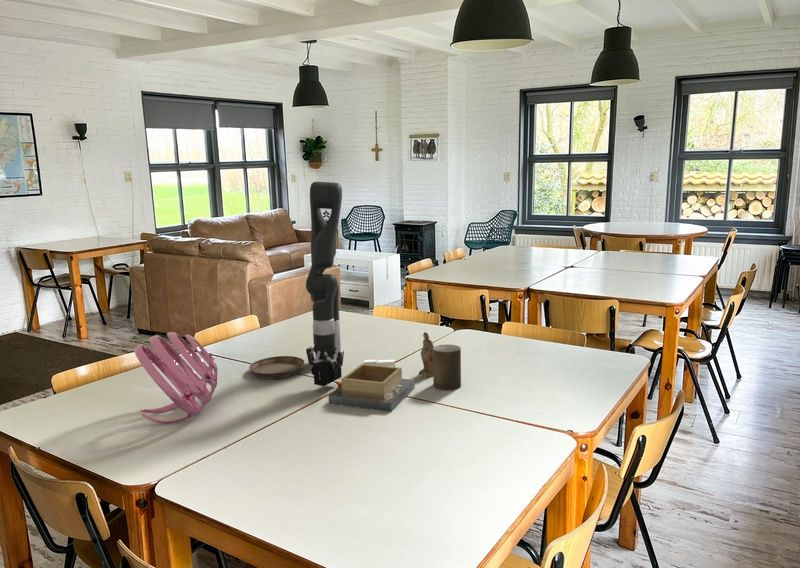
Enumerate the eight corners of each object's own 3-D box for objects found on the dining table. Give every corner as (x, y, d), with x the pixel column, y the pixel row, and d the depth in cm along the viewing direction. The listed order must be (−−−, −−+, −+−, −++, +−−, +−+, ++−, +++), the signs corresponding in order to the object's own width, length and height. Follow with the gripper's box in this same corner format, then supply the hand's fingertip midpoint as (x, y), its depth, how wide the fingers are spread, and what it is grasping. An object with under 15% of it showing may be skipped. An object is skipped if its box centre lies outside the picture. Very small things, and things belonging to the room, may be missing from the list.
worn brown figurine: (427, 384, 230) (419, 339, 224) (417, 380, 234) (409, 336, 228) (449, 370, 237) (442, 326, 231) (439, 366, 241) (432, 323, 235)
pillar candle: (459, 391, 215) (459, 348, 212) (431, 389, 217) (430, 347, 214) (462, 381, 225) (462, 340, 222) (435, 380, 226) (435, 339, 224)
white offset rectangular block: (403, 372, 237) (403, 358, 235) (386, 382, 227) (386, 367, 226) (370, 366, 245) (370, 352, 243) (353, 375, 235) (352, 360, 234)
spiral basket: (94, 376, 179) (172, 314, 186) (112, 369, 206) (180, 315, 213) (160, 449, 183) (235, 385, 189) (169, 433, 210) (235, 378, 216)
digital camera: (329, 374, 226) (328, 355, 225) (341, 377, 224) (341, 358, 222) (311, 383, 218) (310, 364, 216) (323, 386, 215) (322, 367, 214)
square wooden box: (328, 404, 206) (327, 380, 205) (356, 381, 227) (355, 360, 225) (391, 411, 199) (390, 387, 197) (414, 388, 219) (414, 366, 217)
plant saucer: (239, 379, 233) (239, 371, 232) (264, 362, 253) (263, 354, 252) (291, 382, 228) (291, 374, 227) (312, 364, 248) (312, 356, 247)
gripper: (300, 332, 216) (302, 378, 220) (337, 336, 211) (339, 383, 215) (310, 326, 223) (313, 371, 226) (347, 329, 218) (349, 376, 221)
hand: (326, 377), depth 220 cm, fingers closed on digital camera, 5 cm apart
